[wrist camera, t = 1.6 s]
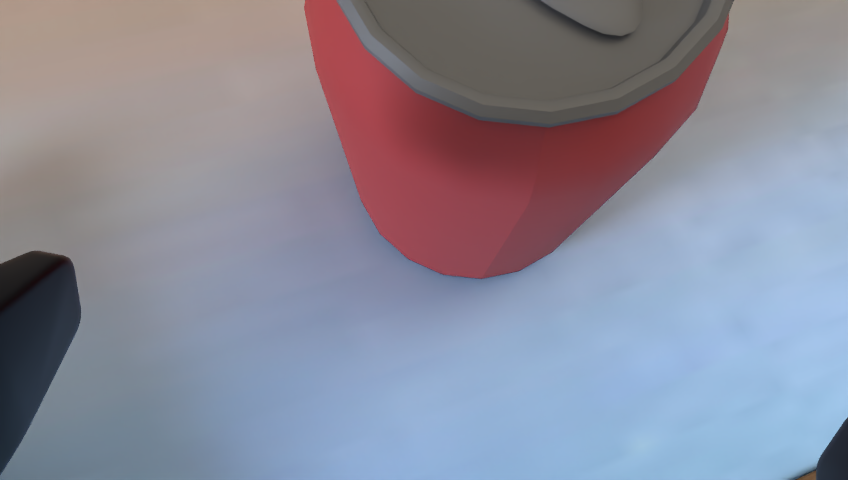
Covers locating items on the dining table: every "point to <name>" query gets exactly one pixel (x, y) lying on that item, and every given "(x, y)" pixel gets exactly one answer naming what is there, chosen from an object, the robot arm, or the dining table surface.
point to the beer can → (504, 113)
